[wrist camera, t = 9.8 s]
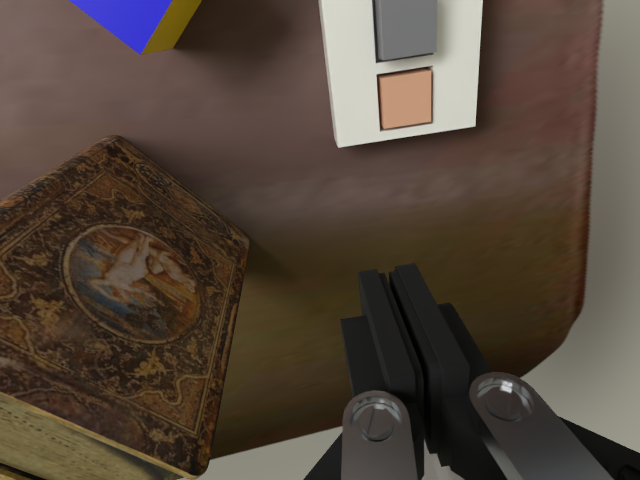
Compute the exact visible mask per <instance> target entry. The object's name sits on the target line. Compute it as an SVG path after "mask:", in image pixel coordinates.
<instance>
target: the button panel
mask: <svg viewBox="0 0 640 480" xmlns="http://www.w3.org/2000/svg"><path fill="white" fill-rule="evenodd" d="M318 3H319V11H320V20H321V28H322V37H323V45H324V54H325V62H326V70H327V79H328V87H329V96H330V104H331V113H332V121H333V130H334V138H335V141H336V144H337V146H338V148H339V147H346V146H352V145H358V144H365V143H371V142H378V141H384V140H391V139H397V138H404V137H410V136H416V135H423V134H429V133H436V132H442V131H449V130H455V129H462V128H468V127H475V124H476V107H477V90H478V73H479V56H480V39H481V22H482V5H483V0H437V52H434V53H427V54H421V55H415V56H408V57H402V58H395V59H389V60H381V59H379V58H378V54H377V36H376V19H375V2H374V0H318ZM419 68H425V69H428V70H431V122H425V123H419V124H412V125H406V126H399V127H393V128H387V129H384V128H383V127H382V126H381V125H380V124H379V109H378V92H377V76H376V75H380V74H387V73H393V72H400V71H406V70H413V69H419Z"/></svg>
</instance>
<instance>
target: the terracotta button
mask: <svg viewBox="0 0 640 480" xmlns="http://www.w3.org/2000/svg"><path fill="white" fill-rule="evenodd" d="M376 76H377V92H378V109H379V124H380V125H381V126H382V127H383V128H384V129H387V128H393V127H399V126H406V125H412V124H419V123H425V122H431V70H428V69H425V68H419V69H413V70H406V71H400V72H393V73H387V74H380V75H376Z"/></svg>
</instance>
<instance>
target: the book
mask: <svg viewBox="0 0 640 480" xmlns="http://www.w3.org/2000/svg"><path fill="white" fill-rule="evenodd" d="M249 247H250V246H249V238H248V237H247V235H246V234H245V233H244V232H243V231H241V230H240V229H239V228H238V227H236V226H235V225H234V224H233V223H231V222H230V221H229V220H228V219H227V218H225V217H224V216H223V215H222V214H220V213H219V212H218V211H216V210H215V209H214V208H212V207H211V206H210V205H209V204H207V203H206V202H205V201H203V200H202V199H201V198H200V197H198V196H197V195H196V194H194V193H193V192H192V191H190V190H189V189H188V188H187V187H185V186H184V185H183V184H181V183H180V182H179V181H177V180H176V179H175V178H174V177H172V176H171V175H170V174H168V173H167V172H166V171H165V170H163V169H162V168H161V167H159V166H158V165H157V164H155V163H154V162H153V161H152V160H150V159H149V158H148V157H146V156H145V155H144V154H142V153H141V152H140V151H139V150H137V149H136V148H135V147H133V146H132V145H131V144H130V143H128V142H127V141H126V140H124V139H123V138H122V137H121V136H107V137H104V138H102V139H100V140H99V141H97V142H95V143H94V144H92V145H90V146H89V147H87V148H86V149H84V150H82V151H81V152H79V153H77V154H76V155H74V156H72V157H71V158H69V159H67V160H66V161H64V162H63V163H61V164H59V165H58V166H56V167H54V168H53V169H51V170H49V171H48V172H46V173H44V174H43V175H41V176H40V177H38V178H36V179H35V180H33V181H31V182H30V183H28V184H26V185H25V186H23V187H21V188H20V189H18V190H17V191H15V192H13V193H12V194H10V195H8V196H7V197H5V198H3V199H2V200H0V479H1V480H176V479H180V478H184V477H185V478H187V479H191V480H193V479H197V478H198V477H200V476H201V475H202V474H204V473H205V471H206V470H207V468H208V465H209V461H210V457H211V452H212V446H213V441H214V436H215V431H216V425H217V420H218V415H219V409H220V404H221V398H222V393H223V388H224V382H225V377H226V371H227V366H228V361H229V355H230V350H231V345H232V339H233V334H234V328H235V323H236V318H237V312H238V307H239V301H240V296H241V291H242V285H243V280H244V274H245V269H246V264H247V258H248V253H249Z"/></svg>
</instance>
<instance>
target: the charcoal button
mask: <svg viewBox="0 0 640 480" xmlns="http://www.w3.org/2000/svg"><path fill="white" fill-rule="evenodd" d="M374 2H375V19H376V36H377V54H378V58H379V59H381V60H389V59H395V58H402V57H408V56H415V55H421V54H427V53H434V52H437V0H374Z"/></svg>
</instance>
